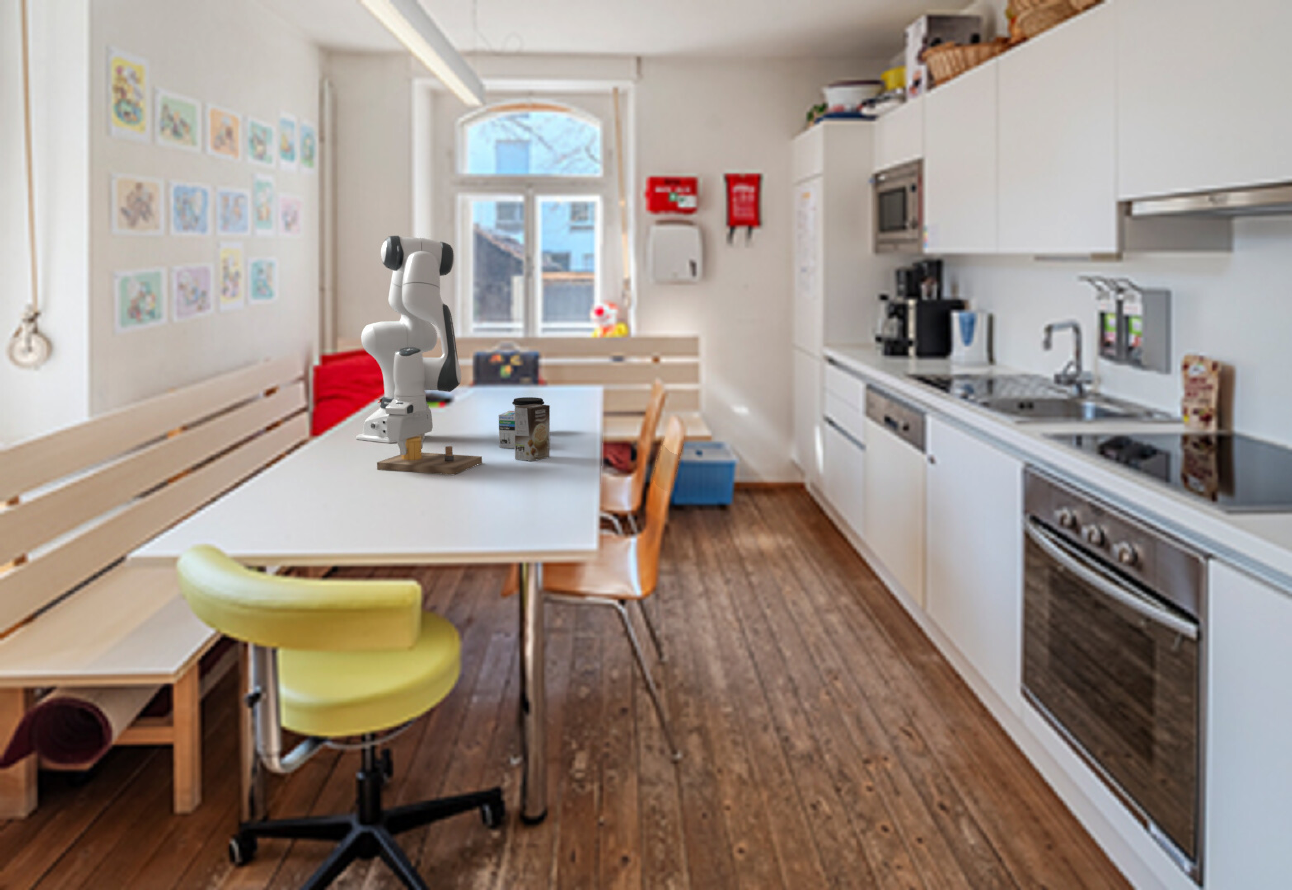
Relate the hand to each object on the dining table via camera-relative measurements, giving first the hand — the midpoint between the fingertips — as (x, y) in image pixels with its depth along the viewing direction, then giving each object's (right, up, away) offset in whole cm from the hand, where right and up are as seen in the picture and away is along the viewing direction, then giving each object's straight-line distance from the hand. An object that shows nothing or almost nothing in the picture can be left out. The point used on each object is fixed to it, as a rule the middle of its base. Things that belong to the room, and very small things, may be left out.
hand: (411, 451), depth 297 cm
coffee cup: (+27, +6, +57) cm, 64 cm away
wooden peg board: (+6, -4, -1) cm, 7 cm away
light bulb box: (+25, +1, +33) cm, 42 cm away
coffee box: (+34, -2, +12) cm, 36 cm away
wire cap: (0, -2, 0) cm, 2 cm away
